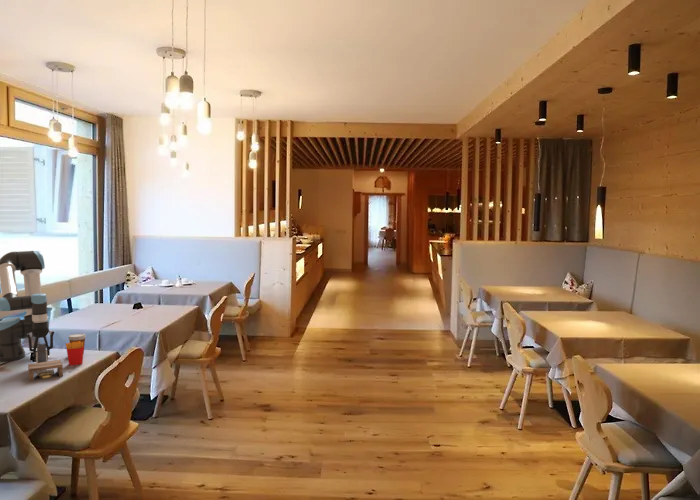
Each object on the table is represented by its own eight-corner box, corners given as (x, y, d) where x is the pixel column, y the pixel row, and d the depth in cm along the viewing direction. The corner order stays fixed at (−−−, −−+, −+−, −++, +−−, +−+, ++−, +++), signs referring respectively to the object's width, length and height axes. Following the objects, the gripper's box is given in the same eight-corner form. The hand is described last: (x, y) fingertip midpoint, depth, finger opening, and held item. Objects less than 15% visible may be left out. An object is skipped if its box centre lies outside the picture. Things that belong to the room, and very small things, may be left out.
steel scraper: (33, 365, 297) (32, 344, 296) (49, 363, 301) (48, 342, 300) (36, 376, 279) (35, 354, 278) (54, 373, 283) (53, 351, 282)
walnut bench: (28, 376, 279) (28, 364, 279) (60, 371, 288) (60, 359, 287) (30, 381, 271) (29, 369, 271) (62, 376, 280) (62, 364, 279)
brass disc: (39, 376, 279) (38, 373, 279) (52, 374, 283) (51, 371, 283) (40, 379, 274) (40, 376, 274) (53, 377, 278) (53, 374, 278)
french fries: (84, 361, 305) (83, 339, 304) (84, 363, 301) (83, 341, 300) (66, 364, 301) (65, 341, 300) (66, 366, 297) (65, 343, 296)
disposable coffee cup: (79, 357, 314) (78, 337, 313) (65, 356, 316) (64, 336, 315) (90, 352, 323) (89, 333, 322) (76, 351, 325) (75, 332, 324)
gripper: (22, 324, 287) (24, 366, 289) (58, 320, 297) (59, 361, 299) (21, 321, 293) (23, 362, 295) (56, 318, 303) (58, 357, 305)
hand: (41, 361), depth 297 cm, fingers closed on steel scraper, 4 cm apart
